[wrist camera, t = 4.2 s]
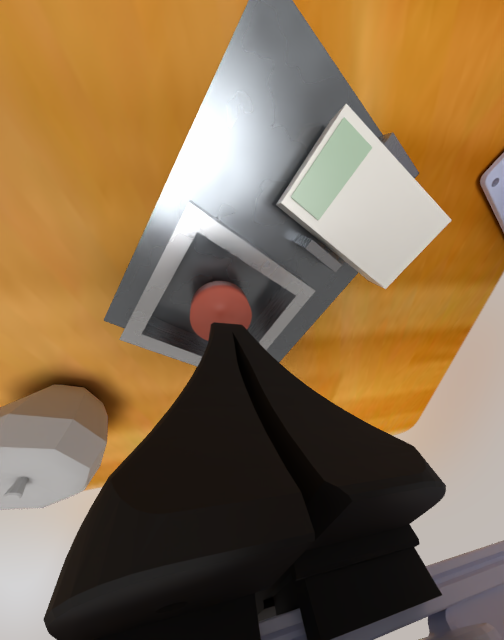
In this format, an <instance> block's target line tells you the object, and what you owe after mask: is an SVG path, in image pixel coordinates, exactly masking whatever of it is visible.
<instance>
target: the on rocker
mask: <svg viewBox="0 0 504 640" xmlns="http://www.w3.org/2000/svg"><path fill="white" fill-rule="evenodd" d="M276 205H277V206H278V207H279V208H280V209H281V210H283V211H284V212H285V213H286V214H288V215H289V216H290V217H291V218H292V219H294V220H295V221H296V222H297V223H299V224H300V225H301V226H302V227H303V228H305V229H306V230H307V231H308V232H310V233H311V234H312V235H313V236H315V237H316V238H317V239H318V240H319V241H321V242H322V243H323V244H324V245H326V246H327V247H328V248H329V249H330V250H332V251H333V252H334V253H335V254H337V255H338V256H339V257H340V258H341V259H343V260H344V261H345V262H346V263H348V264H349V265H350V266H351V267H353V268H354V269H355V270H356V271H357V272H359V273H360V274H361V275H362V276H364V277H365V278H366V279H367V280H368V281H370V282H372V283H374V284H376V285H378V286H380V287H382V288H384V289H386V288H387V287H388V286H389V285H390V284H391V283H392V282H393V281H394V280H395V279H396V278H397V277H398V275H399V274H400V273H401V272H402V271H403V270H404V269H405V268H406V267H407V266H408V265H409V264H410V263H411V262H412V261H413V260H414V259H415V258H416V257H417V256H418V255H419V254H420V253H421V252H422V251H423V249H424V248H425V247H426V246H427V245H428V244H429V243H430V242H431V241H432V240H433V239H434V238H435V237H436V236H437V235H438V234H439V233H440V232H441V231H442V230H443V229H444V228H445V227H446V226H447V224H448V223H449V222H450V221H451V219H450V218H449V217H448V216H447V214H446V213H445V212H444V211H443V210H442V209H441V208H440V207H439V206H438V204H437V203H436V202H435V201H434V200H433V199H432V198H431V197H430V196H429V194H428V193H427V192H426V191H425V190H424V189H423V188H422V187H421V186H420V185H419V183H418V182H417V181H416V180H415V179H414V178H413V177H412V176H411V175H410V173H409V172H408V171H407V170H406V169H405V168H404V167H403V166H402V165H401V163H400V162H399V161H398V160H397V159H396V158H395V157H394V156H393V155H392V153H391V152H390V151H389V150H388V149H387V148H386V147H385V146H384V145H383V143H382V142H381V141H380V140H379V139H378V138H377V137H376V136H375V135H374V134H373V132H372V131H371V130H370V129H369V128H368V127H367V126H366V125H365V124H364V122H363V121H362V120H361V119H360V118H359V117H358V116H357V115H356V114H355V112H354V111H353V110H352V109H351V108H350V107H349V106H348V105H347V104H345V105H344V106H343V108H342V109H341V110H340V111H339V112H338V113H337V114H336V115H335V116H334V117H333V118H332V119H331V121H330V122H329V124H328V125H327V127H326V128H325V130H324V131H323V133H322V134H321V136H320V137H319V139H318V141H317V142H316V144H315V145H314V147H313V148H312V150H311V151H310V153H309V154H308V156H307V157H306V159H305V161H304V162H303V164H302V165H301V167H300V168H299V170H298V171H297V173H296V174H295V176H294V177H293V179H292V181H291V182H290V184H289V185H288V187H287V188H286V190H285V191H284V193H283V194H282V196H281V197H280V199H279V201H278V202H277V204H276Z"/></svg>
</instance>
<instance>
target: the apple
mask: <svg viewBox="0 0 504 640" xmlns="http://www.w3.org/2000/svg"><path fill="white" fill-rule="evenodd" d="M107 430H108V415H107V413H106V410H105V407H104V404H103V403H102V402H101V401H100V400H99V399H97V398H96V397H95V396H94V395H93V394H91V393H90V392H89V391H88V390H87V389H85V388H84V387H76V386H68V385H52V386H49V387H47V388H45V389H42V390H40V391H38V392H35V393H33V394H31V395H28V396H26V397H24V398H21V399H19V400H17V401H14V402H12V403H10V404H7V405H5V406H3V407H0V510H4V509H25V508H26V509H28V508H44V507H46V506H49V505H51V504H54V503H56V502H59V501H61V500H64V499H66V498H69V497H71V496H74V495H76V494H78V493H80V492H82V491H83V490H85V488H86V487H87V485H88V484H89V482H90V481H91V479H92V478H93V476H94V475H95V473H96V471H97V470H98V468H99V467H100V464H101V461H102V457H103V454H104V451H105V447H106V444H107Z"/></svg>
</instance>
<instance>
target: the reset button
mask: <svg viewBox="0 0 504 640" xmlns="http://www.w3.org/2000/svg"><path fill="white" fill-rule="evenodd" d="M251 319H252V311H251V307H250V305H249V303H248V300H247V298H246V296H245V294H244V292H243V291H242V290H241V289H240V288H239V287H238V286H237V285H235V284H233V283H231V282H227V281H213V282H209V283H207V284H205V285H203V286H202V287H200V288H199V289H198V290H197V291H196V293H195V294H194V296H193V298H192V301H191V308H190V323H191V326H192V328H193V330H194V331H195V333H196V334H197V335H198V336H200V337H201V338H203V339H205V340H207V341H208V340H209V333H210V327H211V324H212V323H214V322H216V323H228V324H240V325H243V326H244V327H245V328H246V329H248V327H249V325H250V323H251Z"/></svg>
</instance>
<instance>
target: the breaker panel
mask: <svg viewBox="0 0 504 640" xmlns="http://www.w3.org/2000/svg"><path fill="white" fill-rule="evenodd" d="M345 104H347V105H348V106H349V107H350V108H351V109H352V110H353V111H354V112H355V114H356V115H357V116H358V117H359V118H360V119H361V120H362V121H363V122H364V124H365V125H366V126H367V127H368V128H369V129H370V130H371V131H372V132H373V134H374V135H375V136H376V137H377V138H378V139H379V140H380V141H381V142H382V143H383V145H384V146H385V147H386V148H387V149H388V150H389V151H390V152H391V153H392V155H393V156H394V157H395V158H396V159H397V160H398V161H399V162H400V163H401V165H402V166H403V167H404V168H405V169H406V170H407V171H408V172H409V173H410V175H411V176H412V177H413V178H414V179H415V178H416V176H417V175H418V174H419V172H418V171H417V169H416V168H415V166H414V165H413V163H412V161H411V160H410V158H409V157H408V155H407V154H406V152H405V151H404V149H403V147H402V146H401V144H400V143H399V141H398V140H397V138H396V137H395V135H394V133H389V134H386V135H382V133H381V132H380V130H379V129H378V127H377V126H376V124H375V123H374V121H373V120H372V118H371V117H370V115H369V114H368V112H367V111H366V109H365V108H364V106H363V105H362V103H361V102H360V100H359V99H358V97H357V96H356V94H355V93H354V91H353V90H352V89H351V87H350V86H349V84H348V83H347V81H346V80H345V78H344V77H343V75H342V74H341V72H340V71H339V69H338V68H337V66H336V65H335V63H334V62H333V60H332V59H331V57H330V56H329V54H328V53H327V51H326V50H325V48H324V47H323V45H322V44H321V42H320V41H319V40H318V38H317V37H316V35H315V34H314V32H313V31H312V29H311V28H310V26H309V25H308V23H307V22H306V20H305V19H304V17H303V16H302V14H301V13H300V11H299V10H298V8H297V7H296V5H295V4H294V2H293V1H292V0H249V1H248V4H247V6H246V8H245V10H244V12H243V15H242V17H241V19H240V21H239V23H238V26H237V28H236V30H235V32H234V34H233V37H232V39H231V41H230V43H229V45H228V48H227V50H226V52H225V54H224V56H223V59H222V61H221V63H220V65H219V67H218V70H217V72H216V74H215V76H214V78H213V81H212V83H211V85H210V87H209V89H208V92H207V94H206V96H205V98H204V100H203V103H202V105H201V107H200V109H199V111H198V114H197V116H196V118H195V120H194V122H193V125H192V127H191V129H190V131H189V133H188V136H187V138H186V140H185V142H184V144H183V147H182V149H181V151H180V153H179V155H178V158H177V160H176V162H175V164H174V166H173V169H172V171H171V173H170V175H169V177H168V180H167V182H166V184H165V186H164V188H163V191H162V193H161V195H160V197H159V200H158V202H157V204H156V206H155V208H154V211H153V213H152V215H151V217H150V219H149V222H148V224H147V226H146V228H145V230H144V233H143V235H142V237H141V239H140V241H139V244H138V246H137V248H136V250H135V252H134V255H133V257H132V259H131V261H130V263H129V266H128V268H127V270H126V272H125V274H124V277H123V279H122V281H121V283H120V285H119V288H118V290H117V292H116V294H115V296H114V299H113V301H112V303H111V305H110V307H109V310H108V312H107V314H106V316H105V318H104V321H106V322H109V323H112V324H114V325H117V326H120V327H123V328H125V329H124V331H123V333H122V335H121V337H120V339H119V340H122V341H125V342H128V343H131V344H133V345H136V346H139V347H142V348H145V349H148V350H151V351H154V352H157V353H160V354H162V355H165V356H168V357H171V358H174V359H177V360H180V361H183V362H186V363H189V364H192V365H194V366H197V367H198V365H199V363H200V361H201V358H202V356H203V354H204V352H205V350H206V347H207V344H208V341H207V340H205V339H203V338H201V337H200V336H198V335H197V334H196V333H195V331H194V330H193V328H192V326H191V323H190V308H191V301H192V298H193V296H194V294H195V293H196V291H197V290H198V289H199V288H200V287H202V286H203V285H205V284H207V283H209V282H213V281H227V282H231V283H233V284H235V285H237V286H238V287H239V288H240V289H241V290H242V291H243V292H244V294H245V296H246V298H247V300H248V303H249V305H250V307H251V311H252V319H251V323H250V325H249V327H248V329H247V330H248V332H249V333H250V334H251V335H252V336H253V337H254V338H255V339H256V340H257V341H258V342H259V343H260V345H261V346H262V347H263V348H264V349H265V350H266V351H267V352H268V353H269V354H270V355H271V356H272V357H273V358H274V359H276V360H277V361H278V362H280V361H281V360H282V359H283V357H284V356H285V355H286V354H287V353H288V352H289V351H290V349H291V348H292V347H293V346H294V345H295V344H296V343H297V342H298V340H299V339H300V338H301V337H302V336H303V335H304V334H305V332H306V331H307V330H308V329H309V328H310V327H311V326H312V325H313V323H314V322H315V321H316V320H317V319H318V318H319V317H320V315H321V314H322V313H323V312H324V311H325V310H326V309H327V308H328V306H329V305H330V304H331V303H332V302H333V301H334V300H335V298H336V297H337V296H338V295H339V294H340V293H341V292H342V291H343V289H344V288H345V287H346V286H347V285H348V284H349V283H350V281H351V280H352V279H353V278H354V277H355V276H356V275H357V274H358V272H357V271H356V270H355V269H354V268H353V267H351V266H350V265H349V264H348V263H346V262H345V261H344V260H343V259H341V258H340V257H339V256H338V255H337V254H335V253H334V252H333V251H332V250H330V249H329V248H328V247H327V246H326V245H324V244H323V243H322V242H321V241H319V240H318V239H317V238H316V237H315V236H313V235H312V234H311V233H310V232H308V231H307V230H306V229H305V228H303V227H302V226H301V225H300V224H299V223H297V222H296V221H295V220H294V219H292V218H291V217H290V216H289V215H288V214H286V213H285V212H284V211H283V210H281V209H280V208H279V207H278V206H277V205H276V204H277V202H278V201H279V199H280V197H281V196H282V194H283V193H284V191H285V190H286V188H287V187H288V185H289V184H290V182H291V181H292V179H293V177H294V176H295V174H296V173H297V171H298V170H299V168H300V167H301V165H302V164H303V162H304V161H305V159H306V157H307V156H308V154H309V153H310V151H311V150H312V148H313V147H314V145H315V144H316V142H317V141H318V139H319V137H320V136H321V134H322V133H323V131H324V130H325V128H326V127H327V125H328V124H329V122H330V121H331V119H332V118H333V117H334V116H335V115H336V114H337V113H338V112H339V111H340V110H341V109H342V108H343V106H344V105H345Z"/></svg>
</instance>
